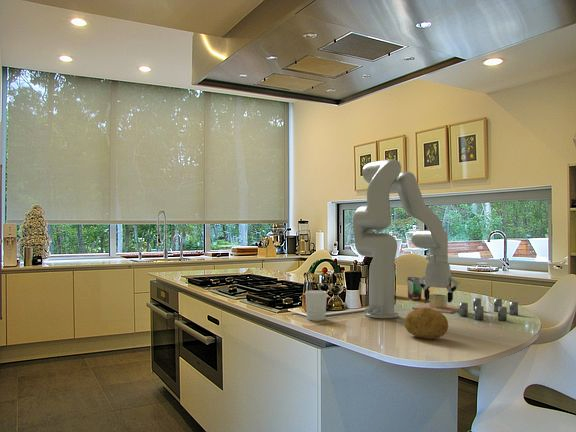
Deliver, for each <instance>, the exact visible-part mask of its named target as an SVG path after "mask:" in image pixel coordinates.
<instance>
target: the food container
mask: <svg viewBox="0 0 576 432" xmlns="http://www.w3.org/2000/svg"><path fill="white" fill-rule="evenodd" d="M420 278H421V277H417V276H407V280H406V281H407V299H409V300H411V301H413V302H417V301H421V300H422V291H423V288H422V287H421V286H420V283H419V281H418V279H420ZM423 283H424V284H425V281H423Z"/></svg>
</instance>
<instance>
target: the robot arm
mask: <svg viewBox="0 0 576 432" xmlns="http://www.w3.org/2000/svg"><path fill="white" fill-rule="evenodd" d="M361 173H362V174H361V175H362V177H363V179H364V180H365V182H367V184H368V186H367V189H366V205H361V206H359V207H358V208H357V209H356V210H355V211H354V213H353V217H352V225H353V227H352V228H353V238H354V247H355V250H356V252H357V254H359V255H360V256H362V257H366V258H367V257H369V258H372V260H371V262H370V264H369V269H368V281H369V282H368V307H366V308H364V309H363V310H364V316H366V317H369V318H373V319H374V318H375V319H396V318H398V317H399V312H396V311H395V296H394V290H395V289H394V282H395V266H396V265H395V263H396V262H395V261H396V257H397V256H396V255H397V251H398V243H397V239H396V238H395V236H393V235H392V234H390V233H386V232H374V230H386V229H387V228H389V227H390V225H391V221H392V216H391V201H390V194H397V195H398V197H399V200H400V202H401V205H402V207H403V208H402V209H403V211H404V212H405V213H406V214H407V215H409V216H410V217H412V218H415V219H416V220H418V221H420V222H422V224H424V225H425V227H427V228H428V229H419V230H416V231H414V232H413V234H411V243H412V244H413V246H415V247H417V248H418V249H428V256H425V260H427V261H428V262H426V267H425V271H424V273H425V274H424V276H423V277H419V278H420V279H418V281H419V283H420V286H421V287H422V291H424V292H423V296H424V300H426V301H428V300H430V295H431V293H430V288H441V289H446V290H447V291H448V292H447V294H446V295H447V303H452V302H453V300H454V292H455V291H456V290H457V289H458V287H459V285H460V281H458V280H457V279H455V278H453V277H452V273H451V271H452V270H451V266H450V263H449V260H448V257H449V256H448V255H449V251H448V250H449V248H448V247H449V244H448V243H449V238H448V237H449V235H448V232H447V231H446V230H445V227H444V225H443V223H442V220H441V219H440V217H439V216H438V215H437V214H436V213H435V212H434V211H433V210H432V209H430V208H429V207H428V206H427V205H426V203H425V200H424V197H423V195H422V192H421V188H420V186H419V183H418V181H417V178H416V176H415V174H414V173H412V172H411V171H402V165H401V162H400V161H399V160H397V159H393V158H390V159H380V160H376V161H371V162H370V161H369V162H368V163H365V164H364V165H363V168H362V172H361ZM423 282H424V283H423ZM452 283H453V284H454V285H453V286H452Z"/></svg>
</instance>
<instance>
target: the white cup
mask: <svg viewBox="0 0 576 432" xmlns="http://www.w3.org/2000/svg"><path fill="white" fill-rule="evenodd" d="M327 293H328V291H325V290H314V289H313V290H305V307H306V308H305V311H306V320H309V321H315V322H316V321H317V322H319V321H325V320H326V312H327V298H328V297H327V296H328V294H327Z"/></svg>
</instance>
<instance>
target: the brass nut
mask: <svg viewBox="0 0 576 432" xmlns="http://www.w3.org/2000/svg"><path fill="white" fill-rule="evenodd" d="M429 303H430V307H432V308H442V309H444V308H447V305H448V302H447V294H438V293H436V294H435V293H434V294H433V293H432V294H430V299H429Z"/></svg>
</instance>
